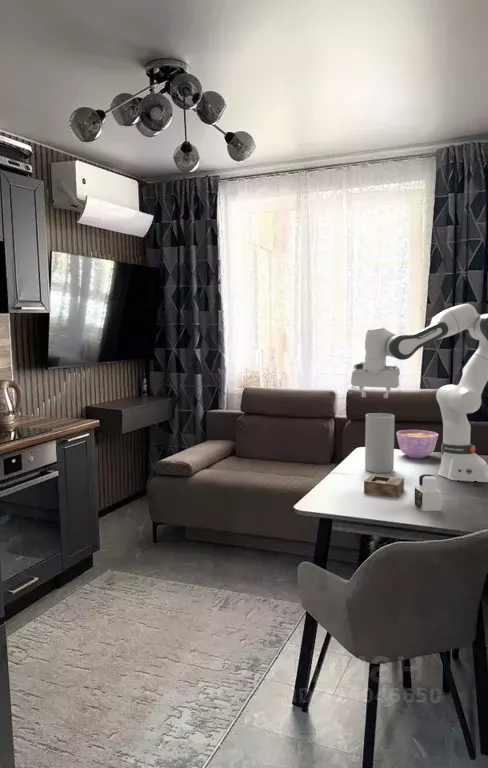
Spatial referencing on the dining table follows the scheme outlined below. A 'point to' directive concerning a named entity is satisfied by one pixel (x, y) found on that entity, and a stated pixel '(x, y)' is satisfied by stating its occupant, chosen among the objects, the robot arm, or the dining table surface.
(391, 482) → the brown wooden frame
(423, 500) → the medicine bottle
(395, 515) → the dining table surface
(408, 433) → the bowl of food
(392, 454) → the cylinder vase
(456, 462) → the robot arm
